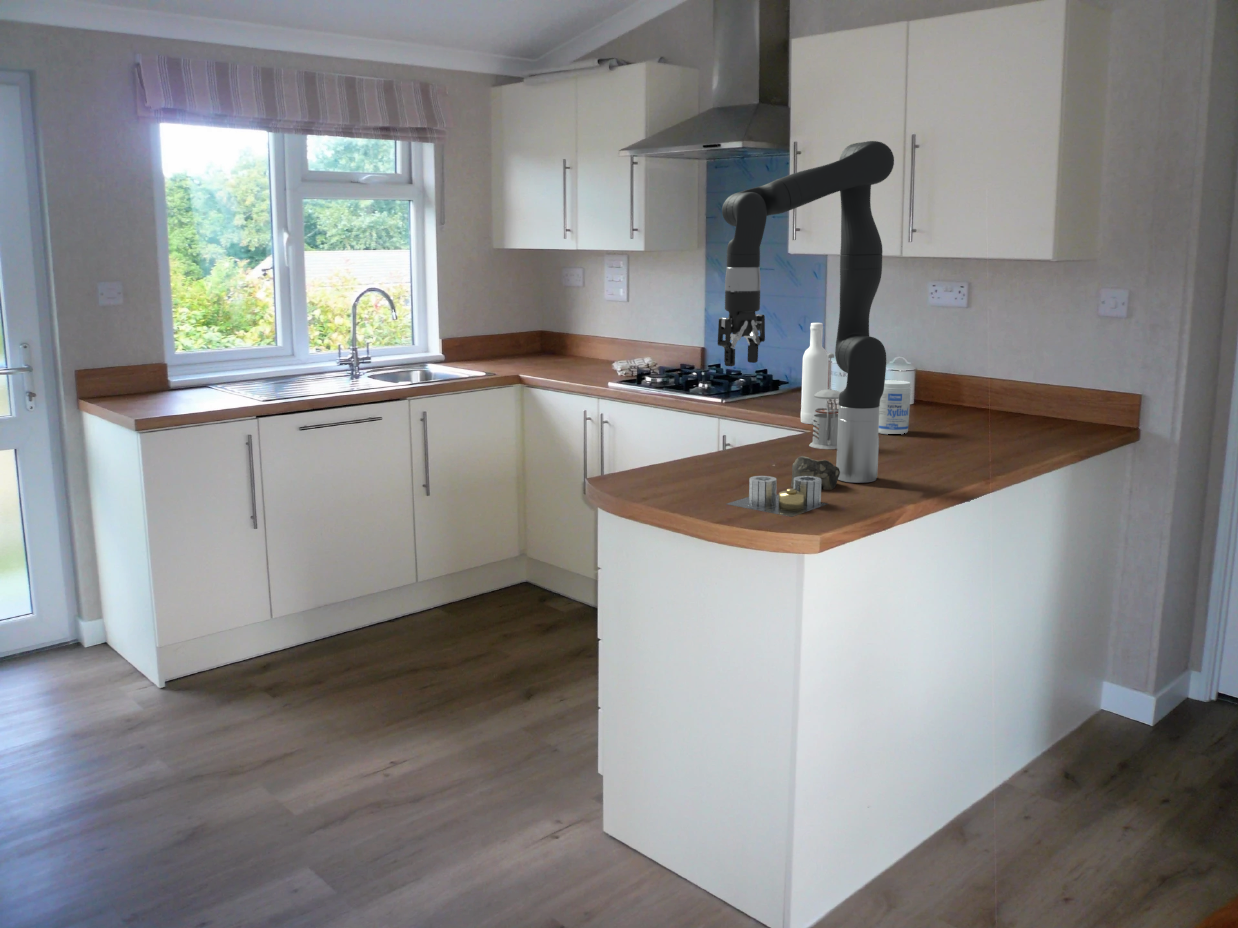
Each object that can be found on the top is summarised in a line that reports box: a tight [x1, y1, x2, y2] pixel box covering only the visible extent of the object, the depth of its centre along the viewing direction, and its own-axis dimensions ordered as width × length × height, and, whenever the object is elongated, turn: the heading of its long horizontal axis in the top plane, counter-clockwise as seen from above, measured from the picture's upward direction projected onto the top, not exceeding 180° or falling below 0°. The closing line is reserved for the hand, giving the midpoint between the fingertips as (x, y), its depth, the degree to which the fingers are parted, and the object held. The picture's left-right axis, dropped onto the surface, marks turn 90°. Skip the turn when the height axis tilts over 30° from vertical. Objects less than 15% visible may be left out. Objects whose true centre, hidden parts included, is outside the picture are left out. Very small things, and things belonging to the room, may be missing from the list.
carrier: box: [726, 487, 829, 518], centre depth 222 cm, size 14×16×5 cm
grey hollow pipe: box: [792, 476, 822, 506], centre depth 223 cm, size 6×6×5 cm
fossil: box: [790, 455, 840, 491], centre depth 238 cm, size 11×9×10 cm
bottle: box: [800, 322, 830, 425], centre depth 324 cm, size 8×8×30 cm
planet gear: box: [748, 475, 778, 506], centre depth 223 cm, size 6×6×5 cm
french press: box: [808, 352, 842, 450], centre depth 287 cm, size 10×12×25 cm
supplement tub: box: [878, 379, 912, 435], centre depth 308 cm, size 10×10×15 cm
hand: (741, 364), depth 234 cm, fingers open, 8 cm apart
